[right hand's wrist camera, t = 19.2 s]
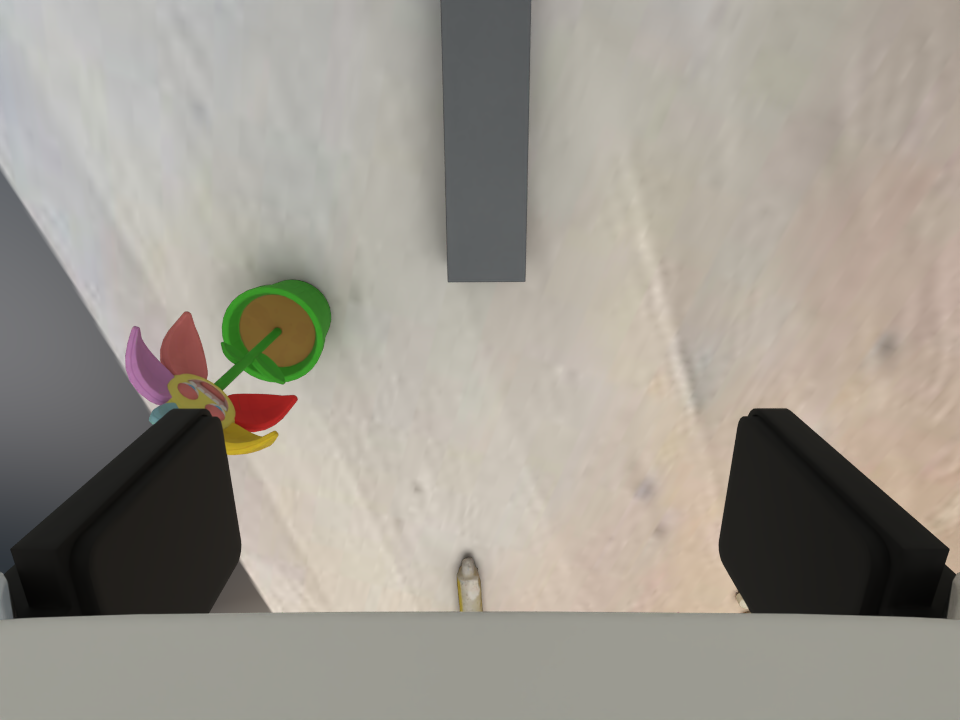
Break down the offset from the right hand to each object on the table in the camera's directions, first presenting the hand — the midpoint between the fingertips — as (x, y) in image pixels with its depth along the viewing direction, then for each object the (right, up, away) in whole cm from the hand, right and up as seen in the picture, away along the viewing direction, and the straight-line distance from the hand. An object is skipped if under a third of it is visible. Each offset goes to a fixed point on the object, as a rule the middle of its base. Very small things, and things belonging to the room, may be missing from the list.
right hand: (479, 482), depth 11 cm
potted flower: (-16, +7, +42) cm, 46 cm away
